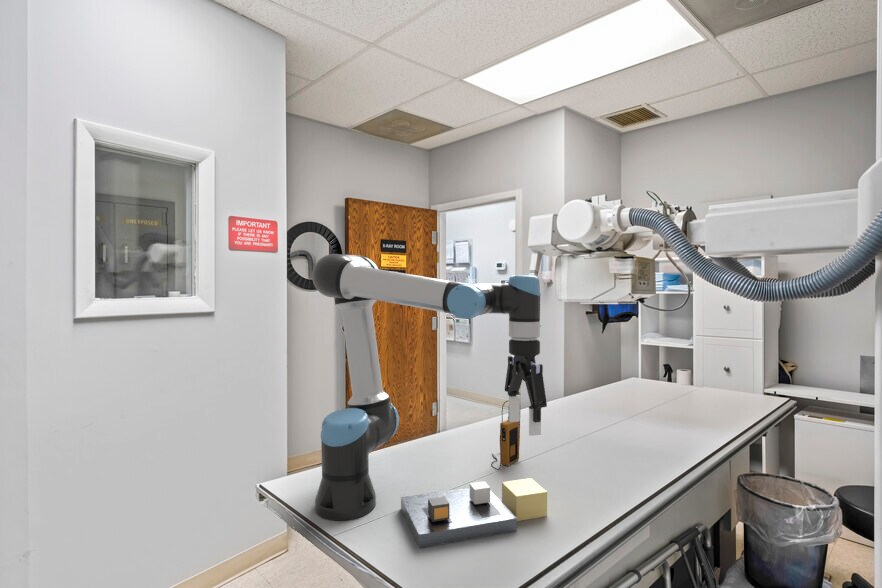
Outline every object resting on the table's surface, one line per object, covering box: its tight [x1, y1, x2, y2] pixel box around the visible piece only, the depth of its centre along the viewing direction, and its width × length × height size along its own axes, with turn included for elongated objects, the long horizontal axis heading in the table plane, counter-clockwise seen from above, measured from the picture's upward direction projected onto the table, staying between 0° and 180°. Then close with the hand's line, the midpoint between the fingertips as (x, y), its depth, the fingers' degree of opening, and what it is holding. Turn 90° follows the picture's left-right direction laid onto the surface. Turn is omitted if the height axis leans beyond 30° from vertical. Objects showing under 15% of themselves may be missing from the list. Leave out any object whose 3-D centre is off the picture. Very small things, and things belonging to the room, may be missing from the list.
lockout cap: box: [501, 477, 548, 522], centre depth 117 cm, size 8×8×6 cm
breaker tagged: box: [428, 496, 449, 522], centre depth 107 cm, size 4×4×4 cm
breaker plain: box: [469, 480, 491, 504], centre depth 115 cm, size 4×4×4 cm
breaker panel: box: [400, 486, 518, 549], centre depth 112 cm, size 23×18×3 cm
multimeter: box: [490, 400, 521, 471], centre depth 149 cm, size 15×10×20 cm
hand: (524, 427), depth 116 cm, fingers open, 10 cm apart
